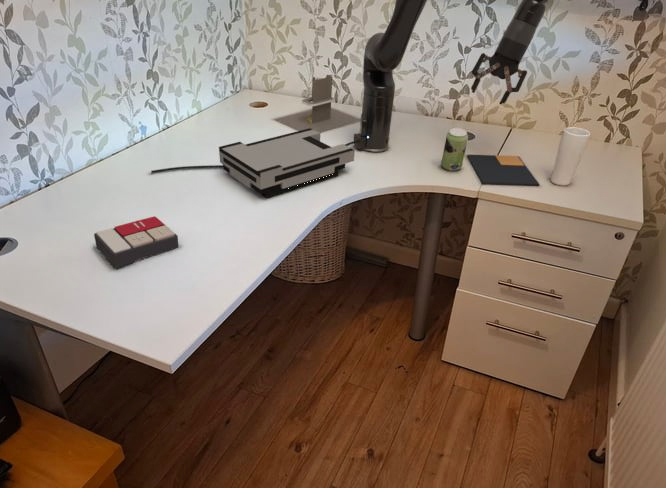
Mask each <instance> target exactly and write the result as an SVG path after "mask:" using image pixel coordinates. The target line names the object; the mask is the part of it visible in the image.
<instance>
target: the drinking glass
mask: <svg viewBox="0 0 666 488" xmlns="http://www.w3.org/2000/svg"><path fill="white" fill-rule="evenodd" d="M590 136H591V132H590V131H589V130H587V129H584V128H582V127H573V126H570V127H569V126H568V127H565V128H564V130H563V131H562V134H561V137H560V140H559V143H558V147H557V152H556V156H555V160H554V165H553V170H552V172H551V175H550V176H551V177H550V181H551V182H552V183H553V184H555V185H557V186H562V187H563V186H564V187H565V186H569V185H570V184H571V182H572V181H573V177H574V174H575V172H576V171H577V168H578V167H579V166H578V165H579V163H580V161H581V159H582V157H583V155H584V152H585V151H586V148H587V147H588V143H589V139H590Z"/></svg>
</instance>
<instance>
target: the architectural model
mask: <svg viewBox="0 0 666 488" xmlns="http://www.w3.org/2000/svg"><path fill="white" fill-rule="evenodd" d="M311 80H312V81H311V82H312V84H311V96H310V97H307V98H303V99H302V100H301V104H303V105H306V106H308V107H311V109H308V110H305V111H301V112H296V113H293V114H289V115H285V116H281V117H278V118H274V119H273V120H274V121H276V122H279V123H280V124H284V125H286V126H288V127H290V128H292V129H294V130H296V131H301V130H305V129H309V128H311V129H313V130H315V131H317V132H319V133H320V134H321V133H323V132H326V131H330V130H333V129H337V128H340V127H344V126H349V125H350V124H351V125H352V124H354V123H357V122H361V118H358V117H355V116H353V115H350V114H348V113H345V112H342V111H340V110H337V109H335V108H332V103H333V102H335V98H334V97H332V96H333V95H332V94H333V75H329V74H326V75H325V77H323V78H318V79H316V77H315V76H312V79H311Z"/></svg>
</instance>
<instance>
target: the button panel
mask: <svg viewBox="0 0 666 488" xmlns="http://www.w3.org/2000/svg"><path fill="white" fill-rule="evenodd" d="M94 242H95V248H96V249H97V250H98V251H99V252H100V253H101V254H102V256H103V257H104V258H105V259H106V260H107V261H108V262H109V263H110V265H111V266H112V267H113V268H114V269H121V268H123V267H124V268H125V267H127V266H130V265H133V264H134V263H135V262H136V261H139V260H142V259H145V258H148V257H151V256H155V255H158V254H160V253H164V252H168V251H171V250H175V249H177V248H179V247H180V246H179V237H178V234H176V233H175V232H174V231H173V230H172V229H170V227H168V225H166V224H165V223H164V222H163V221H162V220H160V219H159V218H158V217H157V216H155V215H154V216H150V217H146V218H142V219H138V220H135V221H130V222H127V223H124V224H120V225H116V226H114V227H113V228H107V229H104V230H103V229H102V230H100V231H97V232H95V233H94Z"/></svg>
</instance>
